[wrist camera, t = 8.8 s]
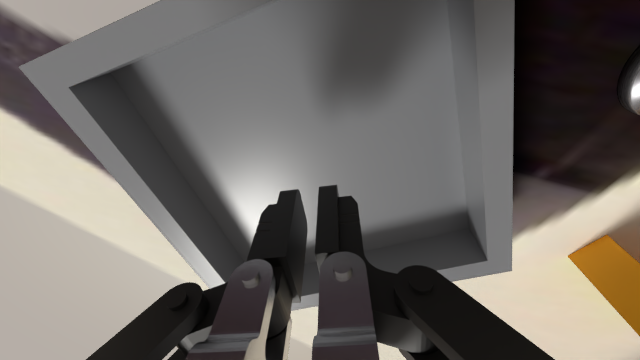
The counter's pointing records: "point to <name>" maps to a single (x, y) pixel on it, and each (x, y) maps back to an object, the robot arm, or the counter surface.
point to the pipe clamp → (612, 276)
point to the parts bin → (304, 123)
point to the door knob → (630, 84)
